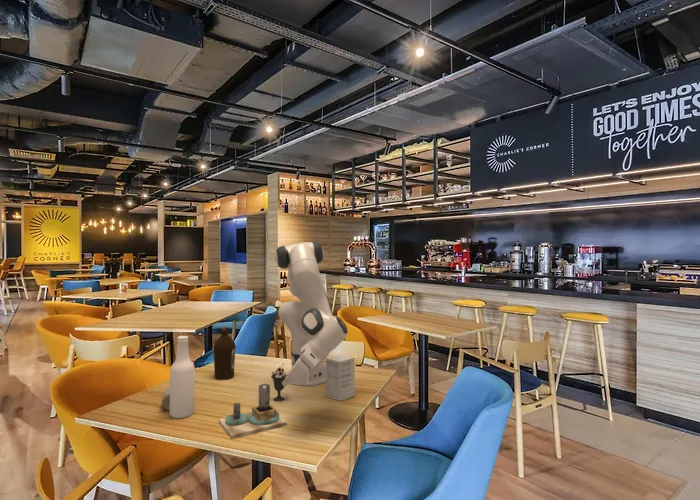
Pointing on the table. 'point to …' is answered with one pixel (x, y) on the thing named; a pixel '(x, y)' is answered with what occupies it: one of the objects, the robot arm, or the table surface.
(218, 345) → the olive oil
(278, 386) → the sundae
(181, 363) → the alcohol
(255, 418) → the gear board
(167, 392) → the ceramic mug
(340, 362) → the supplement box
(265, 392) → the axle
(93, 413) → the table surface
